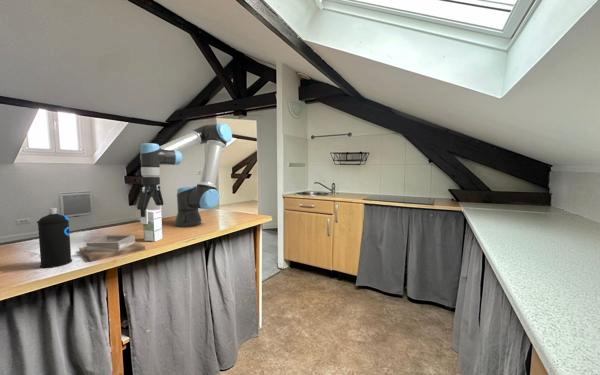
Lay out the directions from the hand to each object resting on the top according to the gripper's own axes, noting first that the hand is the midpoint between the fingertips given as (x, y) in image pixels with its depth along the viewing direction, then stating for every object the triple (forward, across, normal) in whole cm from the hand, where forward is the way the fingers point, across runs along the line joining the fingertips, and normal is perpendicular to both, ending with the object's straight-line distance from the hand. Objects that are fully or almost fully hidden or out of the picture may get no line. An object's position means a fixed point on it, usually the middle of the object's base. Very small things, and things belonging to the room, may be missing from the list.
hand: (151, 221), depth 117 cm
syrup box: (+9, 0, 0) cm, 9 cm away
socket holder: (+10, +14, -9) cm, 19 cm away
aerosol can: (+10, +28, -20) cm, 35 cm away
